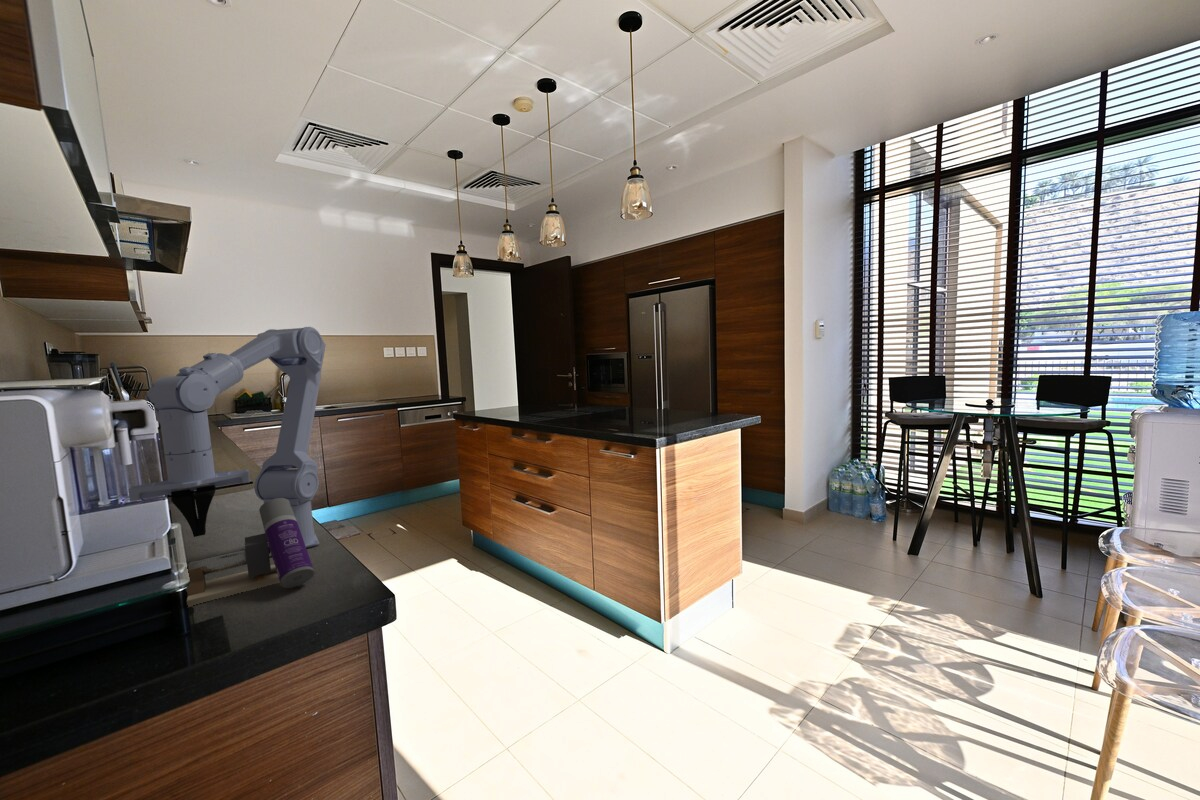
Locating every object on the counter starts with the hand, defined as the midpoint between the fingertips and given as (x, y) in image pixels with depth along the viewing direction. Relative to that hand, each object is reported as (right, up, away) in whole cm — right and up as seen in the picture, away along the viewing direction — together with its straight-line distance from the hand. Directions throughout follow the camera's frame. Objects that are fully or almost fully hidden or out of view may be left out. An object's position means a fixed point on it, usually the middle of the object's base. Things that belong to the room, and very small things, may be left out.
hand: (199, 534), depth 77 cm
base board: (+6, -9, +2) cm, 11 cm away
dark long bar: (+5, -6, +2) cm, 8 cm away
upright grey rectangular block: (+7, -7, +3) cm, 11 cm away
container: (+17, -7, -1) cm, 18 cm away
